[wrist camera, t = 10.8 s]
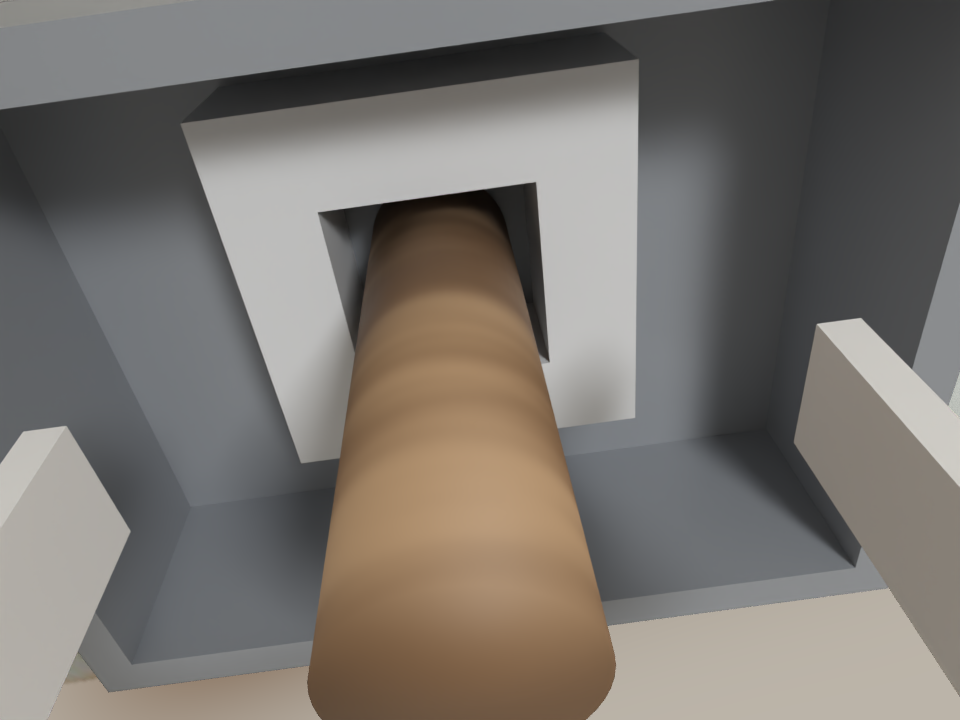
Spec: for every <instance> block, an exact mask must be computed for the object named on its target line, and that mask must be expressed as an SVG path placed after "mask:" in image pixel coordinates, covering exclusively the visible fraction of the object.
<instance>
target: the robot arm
mask: <svg viewBox="0 0 960 720" xmlns="http://www.w3.org/2000/svg"><path fill="white" fill-rule="evenodd" d="M794 444H795V445H796V447H797V448H798V450H799V452H800V453H801V455H802V456H803V458H804V459H805V461H806V462H807V464H808V465H809V467H810V468H811V470H812V471H813V473H814V474H815V476H816V478H817V479H818V481H819V482H820V484H821V485H822V487H823V488H824V490H825V491H826V493H827V494H828V496H829V497H830V499H831V500H832V502H833V504H834V505H835V507H836V508H837V510H838V511H839V513H840V514H841V516H842V517H843V519H844V520H845V522H846V523H847V525H848V526H849V528H850V530H851V531H852V533H853V534H854V536H855V537H856V539H857V540H858V542H859V543H860V545H861V546H862V548H863V549H864V551H865V552H866V554H867V556H868V557H869V559H870V560H871V562H872V563H873V565H874V566H875V568H876V569H877V571H878V572H879V574H880V575H881V577H882V578H883V580H884V582H885V583H886V585H887V586H888V588H889V589H890V591H891V592H892V594H893V595H894V597H895V598H896V600H897V601H898V603H899V604H900V606H901V607H902V609H903V610H904V612H905V614H906V615H907V617H908V618H909V620H910V621H911V623H912V624H913V626H914V627H915V629H916V630H917V632H918V633H919V635H920V637H921V638H922V639H923V641H924V643H925V644H926V646H927V647H928V649H929V650H930V652H931V653H932V655H933V656H934V658H935V659H936V661H937V663H938V664H939V666H940V667H941V669H942V670H943V672H944V673H945V675H946V676H947V678H948V679H949V681H950V682H951V684H952V685H953V687H954V689H955V690H956V692H957V693H958V695H959V696H960V418H959V417H958V416H957V415H956V414H955V413H954V412H953V411H952V410H951V409H950V408H949V407H948V406H947V405H946V404H945V403H944V402H943V400H942V399H941V398H940V397H939V396H938V395H937V394H936V393H935V392H934V391H933V390H932V389H931V388H930V387H929V386H928V385H927V384H926V383H925V382H924V381H923V380H922V379H921V378H920V377H919V376H918V375H917V374H916V373H915V372H914V371H913V370H912V369H911V368H910V367H909V366H908V365H907V364H906V363H905V362H904V361H903V360H902V359H901V358H900V357H899V356H898V355H897V354H896V353H895V352H894V351H893V350H892V349H891V348H890V347H889V346H888V345H887V344H886V343H885V342H884V341H883V340H882V339H881V338H880V337H879V336H878V335H877V334H876V333H875V332H874V331H873V330H872V329H871V328H870V327H869V326H868V325H867V324H866V323H865V322H864V321H863V320H862V318H857V319H849V320H842V321H835V322H827V323H820V324H817V325H816V330H815V335H814V340H813V345H812V350H811V355H810V361H809V366H808V371H807V376H806V381H805V386H804V391H803V397H802V402H801V407H800V412H799V417H798V422H797V427H796V433H795V438H794ZM130 532H131V531H130V529H129V528H128V526H127V524H126V523H125V521H124V519H123V518H122V516H121V515H120V513H119V511H118V510H117V508H116V506H115V505H114V503H113V501H112V500H111V498H110V496H109V495H108V493H107V492H106V490H105V488H104V487H103V485H102V483H101V482H100V480H99V478H98V477H97V475H96V473H95V472H94V470H93V469H92V467H91V465H90V464H89V462H88V460H87V459H86V457H85V455H84V454H83V452H82V450H81V449H80V447H79V446H78V444H77V442H76V441H75V439H74V437H73V436H72V434H71V432H70V431H69V429H68V427H67V426H61V427H54V428H46V429H39V430H32V431H24V432H23V433H22V434H21V435H20V437H19V438H18V440H17V441H16V442H15V444H14V445H13V447H12V448H11V449H10V451H9V452H8V454H7V455H6V457H5V458H4V459H3V461H2V462H1V464H0V720H47V719H48V718H49V715H50V713H51V711H52V708H53V706H54V704H55V702H56V699H57V697H58V695H59V693H60V690H61V688H62V686H63V684H64V681H65V679H66V677H67V674H68V672H69V670H70V668H71V665H72V663H73V661H74V659H75V656H76V654H77V652H78V650H79V647H80V645H81V643H82V640H83V638H84V636H85V634H86V631H87V629H88V627H89V625H90V622H91V620H92V618H93V616H94V613H95V611H96V609H97V606H98V604H99V602H100V600H101V597H102V595H103V593H104V591H105V588H106V586H107V584H108V582H109V579H110V577H111V575H112V572H113V570H114V568H115V566H116V563H117V561H118V559H119V557H120V554H121V552H122V550H123V548H124V545H125V543H126V541H127V538H128V536H129V534H130Z"/></svg>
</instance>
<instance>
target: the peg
mask: <svg viewBox="0 0 960 720" xmlns="http://www.w3.org/2000/svg"><path fill="white" fill-rule="evenodd" d="M615 668H616V662H615V654H614V650H613V646H612V642H611V638H610V634H609V630H608V626H607V622H606V618H605V614H604V610H603V606H602V602H601V598H600V594H599V590H598V587H597V583H596V579H595V575H594V571H593V567H592V563H591V559H590V555H589V551H588V547H587V543H586V539H585V535H584V531H583V527H582V523H581V519H580V515H579V511H578V507H577V503H576V499H575V495H574V491H573V487H572V484H571V480H570V476H569V472H568V468H567V464H566V460H565V456H564V452H563V448H562V444H561V440H560V436H559V432H558V428H557V424H556V420H555V416H554V412H553V408H552V404H551V400H550V396H549V392H548V388H547V384H546V381H545V377H544V373H543V369H542V365H541V361H540V357H539V353H538V349H537V345H536V341H535V337H534V333H533V329H532V325H531V321H530V317H529V313H528V309H527V305H526V301H525V297H524V293H523V289H522V285H521V281H520V278H519V274H518V270H517V266H516V262H515V258H514V254H513V250H512V246H511V242H510V238H509V234H508V230H507V226H506V222H505V219H504V216H503V214H502V212H501V210H500V208H499V206H498V205H497V203H496V202H495V200H494V199H493V198H492V197H491V196H490V195H489V194H488V193H487V192H486V191H485V190H484V189H481V190H474V191H467V192H460V193H453V194H446V195H438V196H431V197H424V198H417V199H410V200H403V201H395V202H388V203H383V204H382V206H381V207H380V209H379V211H378V213H377V216H376V219H375V222H374V226H373V233H372V240H371V247H370V254H369V261H368V267H367V274H366V281H365V288H364V295H363V302H362V309H361V316H360V322H359V329H358V336H357V343H356V350H355V357H354V364H353V371H352V377H351V384H350V391H349V398H348V405H347V412H346V419H345V426H344V432H343V439H342V446H341V453H340V460H339V467H338V474H337V481H336V487H335V494H334V501H333V508H332V515H331V522H330V529H329V536H328V542H327V549H326V556H325V563H324V570H323V577H322V584H321V591H320V598H319V604H318V611H317V618H316V625H315V632H314V639H313V646H312V653H311V659H310V666H309V673H308V681H307V684H308V693H309V697H310V700H311V703H312V705H313V707H314V709H315V711H316V712H317V714H318V716H319V717H320V718H321V719H322V720H586V719H587V718H588V717H589V716H590V715H591V714H592V713H593V712H595V711H596V709H597V708H598V707H599V706H600V705H601V703H602V702H603V701H604V699H605V698H606V696H607V694H608V692H609V691H610V689H611V686H612V683H613V680H614V677H615Z"/></svg>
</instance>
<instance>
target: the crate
mask: <svg viewBox="0 0 960 720" xmlns="http://www.w3.org/2000/svg"><path fill="white" fill-rule="evenodd" d="M481 189H484V190H485V191H486V192H487V193H488V194H489V195H490V196H491V197H492V198H493V199H494V200H495V202H496V203H497V205H498V206H499V208H500V210H501V212H502V214H503V216H504V219H505V222H506V226H507V230H508V234H509V238H510V242H511V246H512V250H513V254H514V258H515V262H516V266H517V270H518V274H519V278H520V281H521V285H522V289H523V293H524V297H525V301H526V305H527V309H528V313H529V317H530V321H531V325H532V329H533V333H534V337H535V341H536V345H537V349H538V353H539V357H540V361H541V365H542V369H543V373H544V377H545V381H546V384H547V388H548V392H549V396H550V400H551V404H552V408H553V412H554V416H555V420H556V424H557V428H558V432H559V436H560V440H561V444H562V448H563V452H564V456H565V460H566V464H567V468H568V472H569V476H570V480H571V484H572V487H573V491H574V495H575V499H576V503H577V507H578V511H579V515H580V519H581V523H582V527H583V531H584V535H585V539H586V543H587V547H588V551H589V555H590V559H591V563H592V567H593V571H594V575H595V579H596V583H597V587H598V590H599V594H600V598H601V602H602V606H603V610H604V614H605V618H606V622H607V626H609V625H617V624H624V623H632V622H639V621H647V620H654V619H662V618H669V617H677V616H684V615H691V614H698V613H707V612H714V611H722V610H729V609H737V608H744V607H751V606H759V605H766V604H773V603H781V602H789V601H796V600H804V599H811V598H819V597H826V596H834V595H841V594H848V593H856V592H864V591H871V590H878V589H886V588H888V586H887V585H886V583H885V582H884V580H883V578H882V577H881V575H880V574H879V572H878V571H877V569H876V568H875V566H874V565H873V563H872V562H871V560H870V559H869V557H868V556H867V554H866V552H865V551H864V549H863V548H862V546H861V545H860V543H859V542H858V540H857V539H856V537H855V536H854V534H853V533H852V531H851V530H850V528H849V526H848V525H847V523H846V522H845V520H844V519H843V517H842V516H841V514H840V513H839V511H838V510H837V508H836V507H835V505H834V504H833V502H832V500H831V499H830V497H829V496H828V494H827V493H826V491H825V490H824V488H823V487H822V485H821V484H820V482H819V481H818V479H817V478H816V476H815V474H814V473H813V471H812V470H811V468H810V467H809V465H808V464H807V462H806V461H805V459H804V458H803V456H802V455H801V453H800V452H799V450H798V448H797V447H796V445H795V444H794V438H795V433H796V427H797V422H798V417H799V412H800V407H801V402H802V397H803V391H804V386H805V381H806V376H807V371H808V366H809V361H810V355H811V350H812V345H813V340H814V335H815V330H816V325H817V324H820V323H827V322H835V321H842V320H849V319H857V318H862V320H863V321H864V322H865V323H866V324H867V325H868V326H869V327H870V328H871V329H872V330H873V331H874V332H875V333H876V334H877V335H878V336H879V337H880V338H881V339H882V340H883V341H884V342H885V343H886V344H887V345H888V346H889V347H890V348H891V349H892V350H893V351H894V352H895V353H896V354H897V355H898V356H899V357H900V358H901V359H902V360H903V361H904V362H905V363H906V364H907V365H908V366H909V367H910V368H911V369H912V370H913V371H914V372H915V373H916V374H917V375H918V376H919V377H920V378H921V379H922V380H923V381H924V382H925V383H926V384H927V385H928V386H929V387H930V388H931V389H932V390H933V391H934V392H935V393H936V394H937V395H938V396H939V397H940V398H941V399H942V400H943V402H944V403H945V404H946V405H947V406H948V405H949V402H950V399H951V396H952V393H953V390H954V387H955V384H956V381H957V378H958V375H959V372H960V0H10V1H3V2H0V464H1V462H2V461H3V459H4V458H5V457H6V455H7V454H8V452H9V451H10V449H11V448H12V447H13V445H14V444H15V442H16V441H17V440H18V438H19V437H20V435H21V434H22V433H23V432H24V431H32V430H39V429H46V428H54V427H61V426H67V427H68V429H69V431H70V432H71V434H72V436H73V437H74V439H75V441H76V442H77V444H78V446H79V447H80V449H81V450H82V452H83V454H84V455H85V457H86V459H87V460H88V462H89V464H90V465H91V467H92V469H93V470H94V472H95V473H96V475H97V477H98V478H99V480H100V482H101V483H102V485H103V487H104V488H105V490H106V492H107V493H108V495H109V496H110V498H111V500H112V501H113V503H114V505H115V506H116V508H117V510H118V511H119V513H120V515H121V516H122V518H123V519H124V521H125V523H126V524H127V526H128V528H129V529H130V531H131V532H130V534H129V536H128V538H127V541H126V543H125V545H124V548H123V550H122V552H121V554H120V557H119V559H118V561H117V563H116V566H115V568H114V570H113V572H112V575H111V577H110V579H109V582H108V584H107V586H106V588H105V591H104V593H103V595H102V597H101V600H100V602H99V604H98V606H97V609H96V611H95V613H94V616H93V618H92V620H91V622H90V625H89V627H88V629H87V631H86V634H85V636H84V638H83V640H82V643H81V645H80V647H79V650H78V653H79V654H80V655H81V657H82V658H83V659H84V660H85V662H86V663H87V664H88V666H89V667H90V668H91V670H92V671H93V672H94V674H95V675H96V676H97V678H98V679H99V680H100V682H101V683H102V684H103V686H104V687H105V688H106V689H107V691H108V692H115V691H122V690H130V689H137V688H144V687H152V686H160V685H167V684H175V683H182V682H190V681H197V680H205V679H212V678H219V677H227V676H234V675H242V674H249V673H257V672H265V671H272V670H280V669H287V668H295V667H302V666H310V659H311V653H312V646H313V639H314V632H315V625H316V618H317V611H318V604H319V598H320V591H321V584H322V577H323V570H324V563H325V556H326V549H327V542H328V536H329V529H330V522H331V515H332V508H333V501H334V494H335V487H336V481H337V474H338V467H339V460H340V453H341V446H342V439H343V432H344V426H345V419H346V412H347V405H348V398H349V391H350V384H351V377H352V371H353V364H354V357H355V350H356V343H357V336H358V329H359V322H360V316H361V309H362V302H363V295H364V288H365V281H366V274H367V267H368V261H369V254H370V247H371V240H372V233H373V226H374V222H375V219H376V216H377V213H378V211H379V209H380V207H381V206H382V204H383V203H388V202H395V201H403V200H410V199H417V198H424V197H431V196H438V195H446V194H453V193H460V192H467V191H474V190H481Z"/></svg>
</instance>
